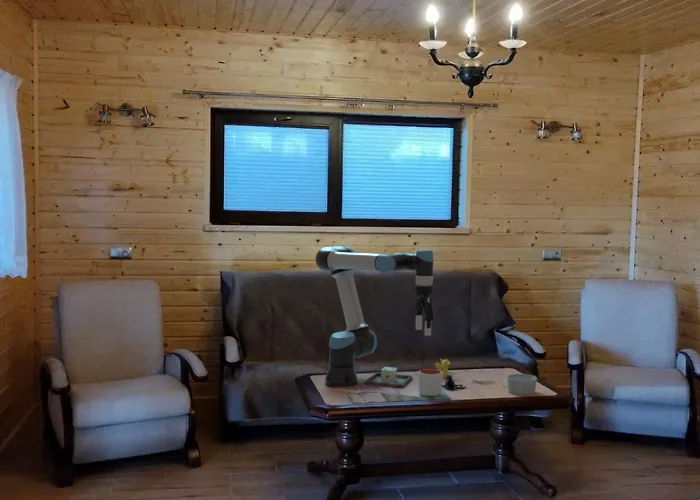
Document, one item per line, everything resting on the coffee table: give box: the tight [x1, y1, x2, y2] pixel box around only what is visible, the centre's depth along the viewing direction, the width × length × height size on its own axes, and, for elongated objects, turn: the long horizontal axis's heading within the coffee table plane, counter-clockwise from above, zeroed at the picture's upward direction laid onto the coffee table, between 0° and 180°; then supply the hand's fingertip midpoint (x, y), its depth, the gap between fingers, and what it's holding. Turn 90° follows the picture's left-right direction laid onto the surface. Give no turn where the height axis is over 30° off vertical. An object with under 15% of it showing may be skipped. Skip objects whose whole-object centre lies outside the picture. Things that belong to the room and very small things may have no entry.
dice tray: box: [364, 371, 413, 389], centre depth 334 cm, size 18×18×2 cm
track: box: [345, 389, 452, 405], centre depth 310 cm, size 43×16×1 cm, turn 101°
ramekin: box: [506, 373, 538, 396], centre depth 320 cm, size 13×13×7 cm
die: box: [380, 366, 398, 383], centre depth 333 cm, size 6×6×6 cm
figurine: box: [434, 358, 460, 379], centre depth 344 cm, size 12×12×9 cm
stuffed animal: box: [442, 373, 467, 391], centre depth 327 cm, size 12×10×12 cm
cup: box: [418, 368, 443, 396], centre depth 313 cm, size 10×10×10 cm
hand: (423, 332), depth 317 cm, fingers open, 13 cm apart
